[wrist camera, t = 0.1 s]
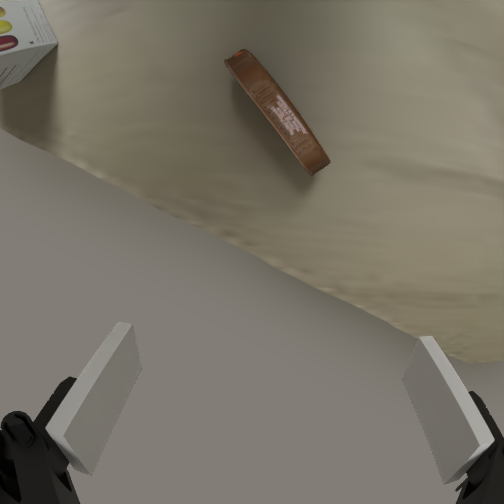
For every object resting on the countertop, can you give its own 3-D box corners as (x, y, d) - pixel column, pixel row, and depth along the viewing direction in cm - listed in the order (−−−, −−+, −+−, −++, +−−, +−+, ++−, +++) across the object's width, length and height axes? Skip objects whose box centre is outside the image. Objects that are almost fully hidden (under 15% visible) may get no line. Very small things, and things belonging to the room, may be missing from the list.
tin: (227, 60, 28) (214, 65, 22) (250, 43, 27) (244, 44, 21) (305, 159, 36) (312, 192, 29) (327, 146, 34) (340, 176, 28)
